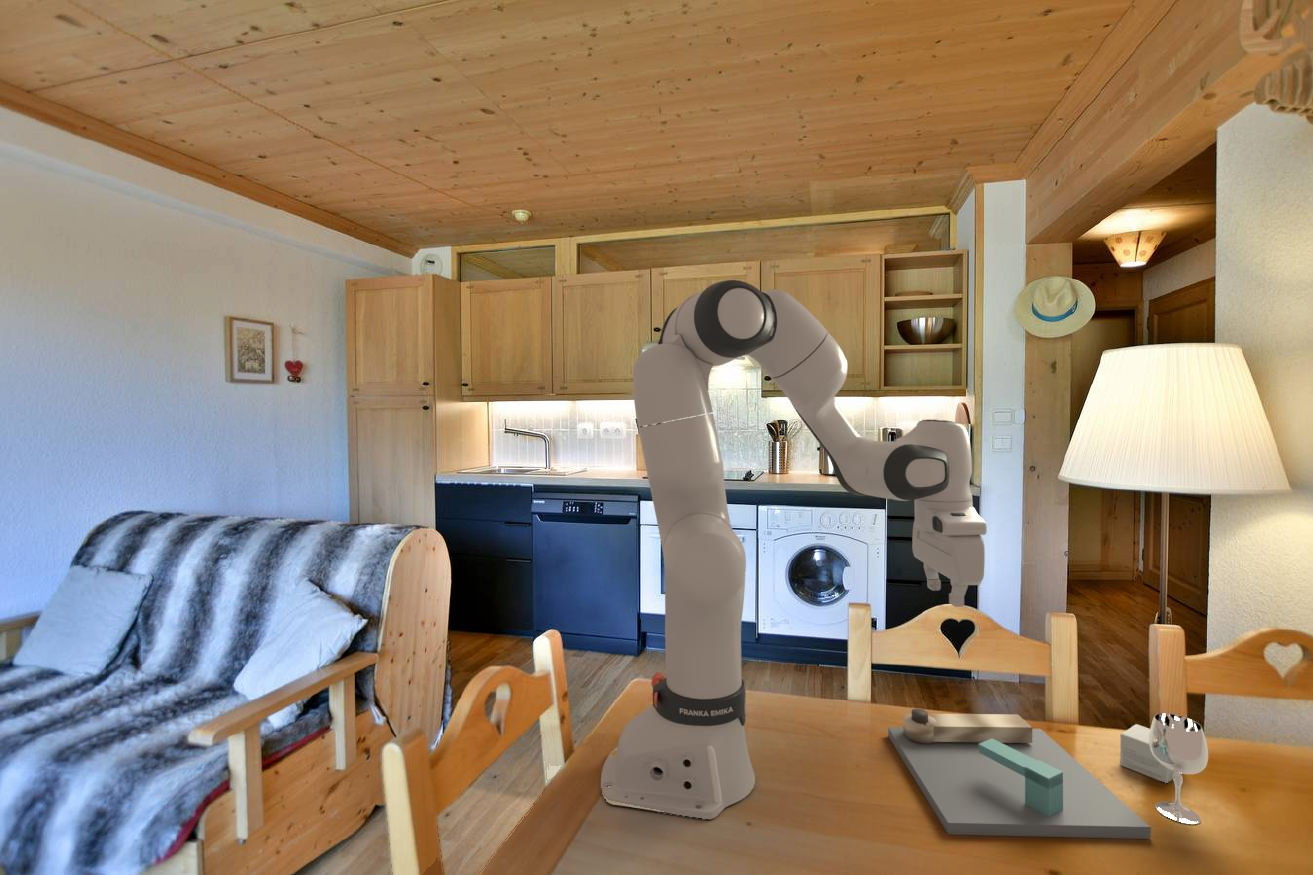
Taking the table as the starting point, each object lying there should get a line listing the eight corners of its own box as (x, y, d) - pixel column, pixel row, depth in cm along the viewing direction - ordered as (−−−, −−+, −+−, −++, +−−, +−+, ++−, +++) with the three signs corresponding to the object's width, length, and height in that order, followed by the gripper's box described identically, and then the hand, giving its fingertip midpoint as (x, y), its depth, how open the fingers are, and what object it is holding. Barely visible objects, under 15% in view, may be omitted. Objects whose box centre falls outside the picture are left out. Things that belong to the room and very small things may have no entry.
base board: (948, 834, 74) (948, 822, 73) (888, 736, 96) (888, 727, 96) (1150, 838, 72) (1150, 826, 72) (1040, 737, 95) (1040, 728, 95)
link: (910, 742, 91) (909, 719, 91) (899, 726, 96) (899, 704, 96) (1033, 744, 90) (1033, 720, 90) (1016, 727, 94) (1016, 705, 94)
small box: (1183, 771, 85) (1183, 738, 85) (1167, 785, 82) (1167, 751, 82) (1135, 753, 90) (1135, 722, 90) (1119, 765, 87) (1118, 733, 87)
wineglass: (1220, 830, 73) (1220, 735, 73) (1166, 825, 74) (1166, 731, 74) (1188, 801, 79) (1188, 712, 78) (1139, 796, 80) (1138, 709, 80)
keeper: (978, 776, 83) (978, 742, 83) (992, 770, 84) (992, 736, 84) (1049, 816, 74) (1048, 778, 74) (1063, 809, 75) (1062, 771, 75)
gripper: (902, 507, 110) (904, 580, 110) (949, 526, 89) (951, 617, 90) (937, 506, 109) (938, 580, 110) (992, 526, 89) (994, 616, 89)
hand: (944, 597), depth 100 cm, fingers open, 8 cm apart
